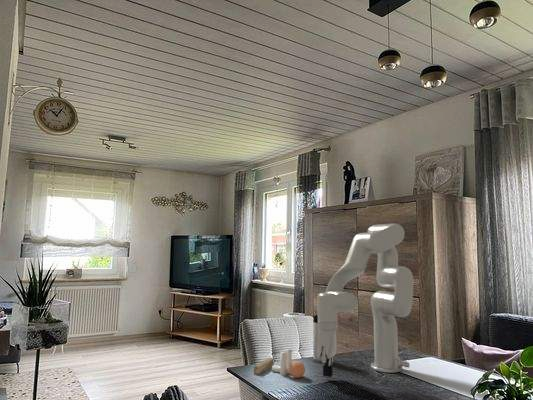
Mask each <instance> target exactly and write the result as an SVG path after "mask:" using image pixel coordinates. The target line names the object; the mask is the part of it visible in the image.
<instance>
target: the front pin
mask: <svg viewBox="0 0 533 400" xmlns="http://www.w3.org/2000/svg"><path fill="white" fill-rule="evenodd" d="M271 372H272V373H273V372H274V373H280V365H275V364H274V365H273V366H272V367H271ZM286 375H291V373H290V368H289V367H287V370H286Z"/></svg>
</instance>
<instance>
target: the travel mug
mask: <svg viewBox="0 0 533 400" xmlns="http://www.w3.org/2000/svg"><path fill="white" fill-rule="evenodd" d="M312 319H313V321H312V336H313V337H312V338H313V339H312V344H313V345H312V350H313V351H312V352H313V353H312V354H313V355H312V356H313V357H312V360H313V361H314V362H315V363H322V364H323V362H322V356H321V357H320V358H318V357H317V344H318V332H319V330H318V314H316V315H313V317H312Z"/></svg>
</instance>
